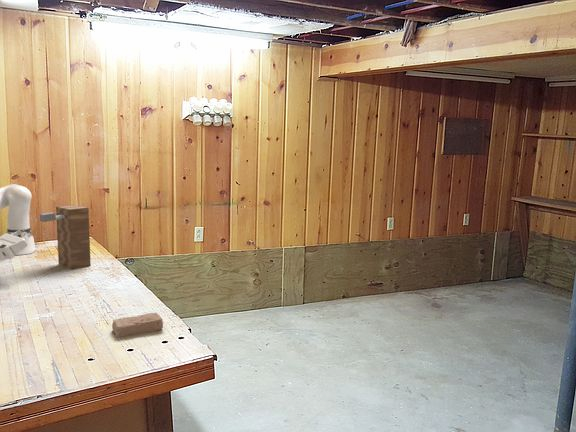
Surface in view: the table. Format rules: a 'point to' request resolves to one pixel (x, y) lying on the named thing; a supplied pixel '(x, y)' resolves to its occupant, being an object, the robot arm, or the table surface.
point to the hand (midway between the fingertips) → (25, 232)
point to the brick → (137, 324)
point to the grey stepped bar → (50, 217)
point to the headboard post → (73, 236)
